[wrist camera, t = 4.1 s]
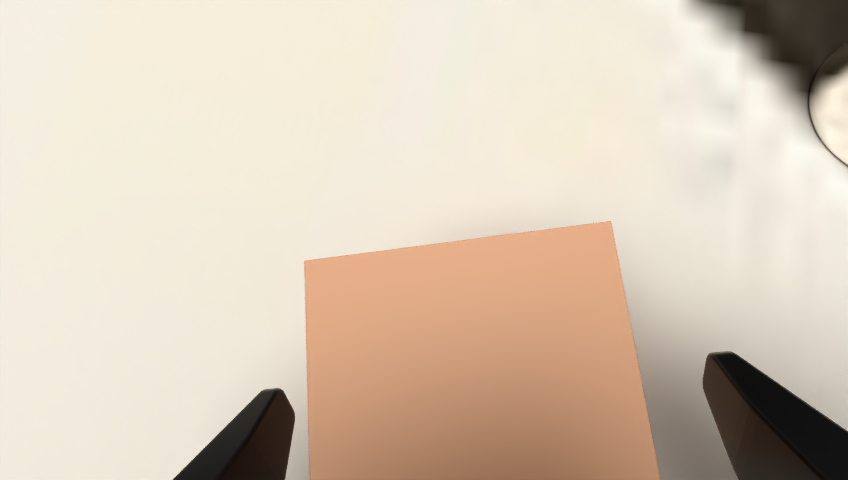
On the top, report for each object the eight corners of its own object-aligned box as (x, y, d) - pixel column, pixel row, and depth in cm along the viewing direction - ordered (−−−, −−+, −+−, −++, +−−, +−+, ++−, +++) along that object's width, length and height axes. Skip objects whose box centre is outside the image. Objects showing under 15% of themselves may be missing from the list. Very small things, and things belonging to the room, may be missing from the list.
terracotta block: (575, 435, 16) (683, 599, 6) (437, 442, 17) (313, 598, 7) (554, 295, 18) (610, 220, 7) (426, 308, 18) (304, 260, 8)
